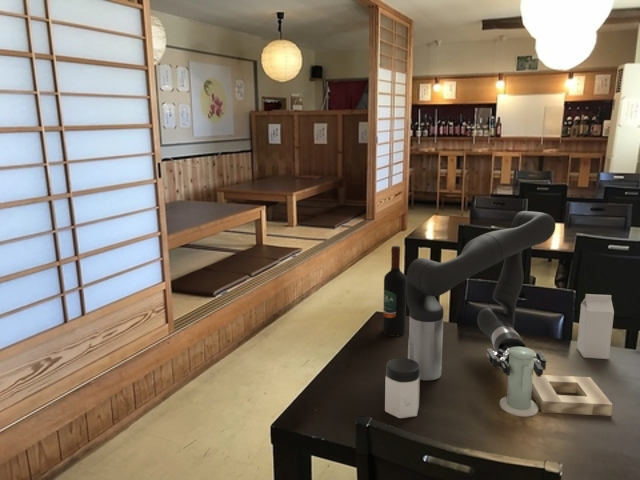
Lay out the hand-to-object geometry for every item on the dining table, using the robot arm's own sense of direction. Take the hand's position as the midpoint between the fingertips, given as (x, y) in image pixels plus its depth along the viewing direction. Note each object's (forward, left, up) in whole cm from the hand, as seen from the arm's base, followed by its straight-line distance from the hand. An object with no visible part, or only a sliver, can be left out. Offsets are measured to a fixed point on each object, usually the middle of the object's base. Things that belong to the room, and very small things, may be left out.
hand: (524, 372), depth 125 cm
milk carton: (+30, +36, -11) cm, 48 cm away
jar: (-29, -2, -11) cm, 31 cm away
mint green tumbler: (0, +2, -10) cm, 10 cm away
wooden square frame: (+13, +7, -10) cm, 18 cm away
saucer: (0, +2, -10) cm, 11 cm away
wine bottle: (-30, +48, -11) cm, 58 cm away
